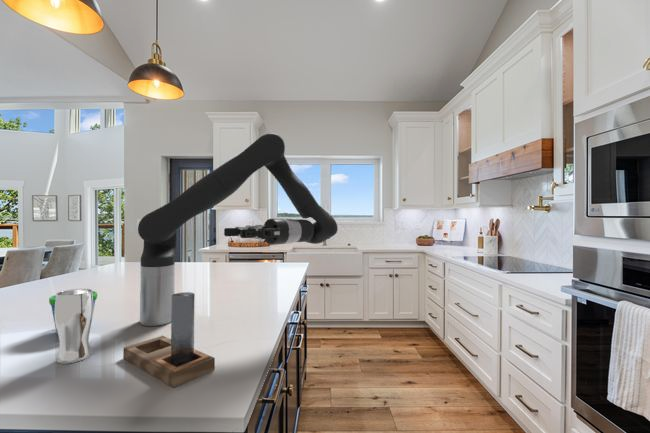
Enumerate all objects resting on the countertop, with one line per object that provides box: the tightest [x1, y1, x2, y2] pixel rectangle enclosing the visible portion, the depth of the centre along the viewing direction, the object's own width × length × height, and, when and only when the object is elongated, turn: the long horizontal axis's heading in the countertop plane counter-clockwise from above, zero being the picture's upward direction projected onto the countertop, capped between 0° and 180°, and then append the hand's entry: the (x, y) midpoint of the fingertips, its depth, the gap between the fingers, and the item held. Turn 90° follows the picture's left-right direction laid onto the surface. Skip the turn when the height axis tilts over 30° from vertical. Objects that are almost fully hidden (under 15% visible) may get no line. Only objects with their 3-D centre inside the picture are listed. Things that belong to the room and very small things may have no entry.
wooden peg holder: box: [122, 335, 216, 388], centre depth 71 cm, size 21×9×3 cm, turn 54°
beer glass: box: [54, 288, 94, 365], centre depth 74 cm, size 7×7×15 cm
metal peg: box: [170, 291, 196, 367], centre depth 68 cm, size 4×4×16 cm
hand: (232, 233), depth 85 cm, fingers open, 8 cm apart
